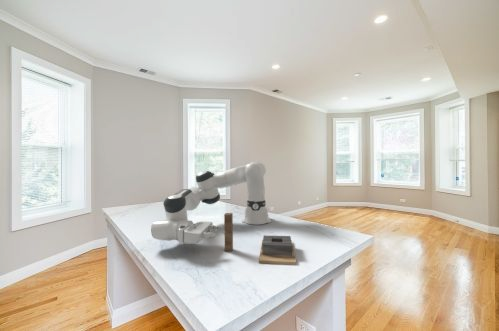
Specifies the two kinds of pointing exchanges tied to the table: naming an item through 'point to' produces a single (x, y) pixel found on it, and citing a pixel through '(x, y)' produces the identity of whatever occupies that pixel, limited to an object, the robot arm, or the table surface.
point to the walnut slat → (228, 231)
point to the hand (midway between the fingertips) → (217, 231)
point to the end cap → (277, 250)
